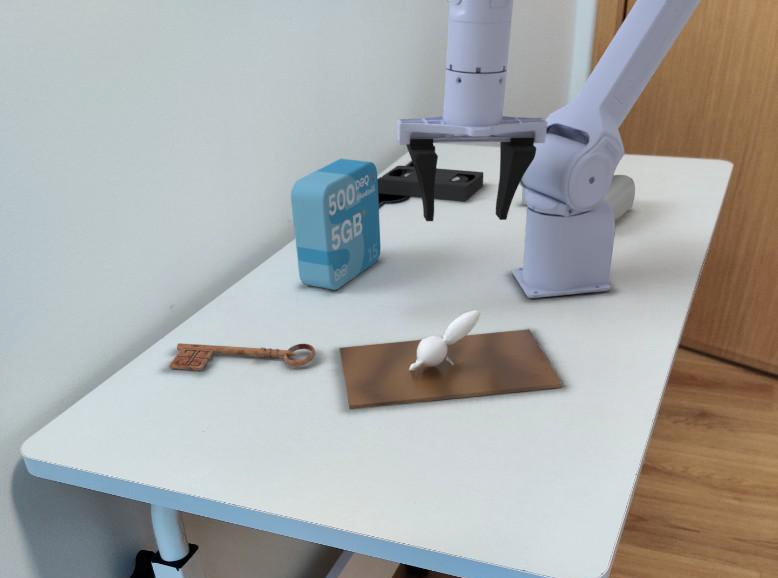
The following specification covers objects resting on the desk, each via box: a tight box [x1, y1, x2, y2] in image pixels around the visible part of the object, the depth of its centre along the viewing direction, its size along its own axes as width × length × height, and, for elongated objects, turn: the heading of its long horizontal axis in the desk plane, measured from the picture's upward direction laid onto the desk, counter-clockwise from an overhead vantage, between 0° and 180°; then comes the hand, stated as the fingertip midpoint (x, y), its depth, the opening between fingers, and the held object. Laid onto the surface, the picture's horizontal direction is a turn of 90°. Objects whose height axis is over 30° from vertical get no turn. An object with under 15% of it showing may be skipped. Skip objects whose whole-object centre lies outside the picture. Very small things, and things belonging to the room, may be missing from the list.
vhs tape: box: [377, 165, 484, 203], centre depth 126 cm, size 14×8×2 cm, turn 65°
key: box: [168, 342, 316, 371], centre depth 86 cm, size 6×1×15 cm
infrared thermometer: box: [521, 174, 636, 221], centre depth 114 cm, size 5×12×15 cm
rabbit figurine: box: [409, 309, 481, 371], centre depth 81 cm, size 6×4×8 cm
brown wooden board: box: [338, 328, 563, 410], centre depth 82 cm, size 20×12×1 cm, turn 96°
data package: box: [290, 158, 382, 291], centre depth 99 cm, size 12×4×12 cm, turn 150°
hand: (464, 217), depth 87 cm, fingers open, 7 cm apart
